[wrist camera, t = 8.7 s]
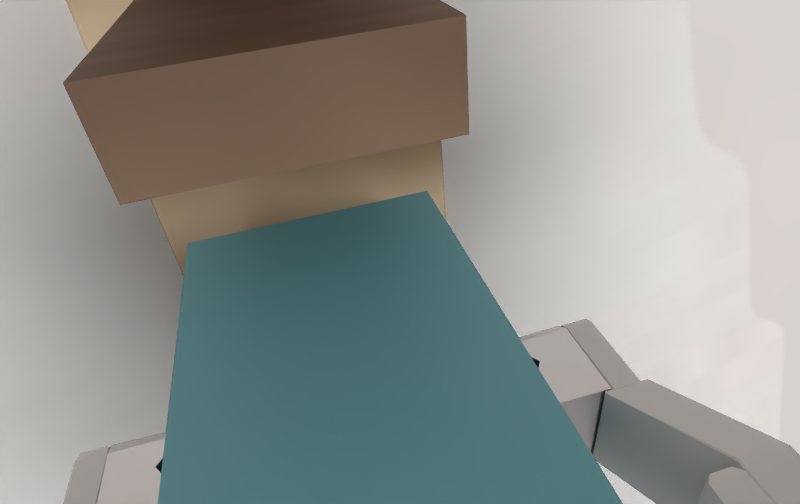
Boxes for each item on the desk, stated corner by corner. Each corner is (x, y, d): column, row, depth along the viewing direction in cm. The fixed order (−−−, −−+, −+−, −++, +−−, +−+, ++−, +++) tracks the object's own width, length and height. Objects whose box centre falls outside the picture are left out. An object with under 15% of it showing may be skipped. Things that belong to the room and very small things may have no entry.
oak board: (448, 334, 31) (452, 344, 30) (236, 389, 29) (236, 400, 28) (402, -360, 15) (410, -370, 14) (-65, -330, 13) (-81, -341, 13)
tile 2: (351, 8, 19) (468, 134, 10) (179, 36, 18) (120, 205, 9) (342, -56, 18) (466, 14, 8) (158, -29, 17) (63, 83, 8)
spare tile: (187, 243, 13) (69, 1276, 3) (426, 190, 14) (866, 894, 4) (213, 305, 14) (177, 1200, 5) (431, 253, 15) (785, 914, 5)
